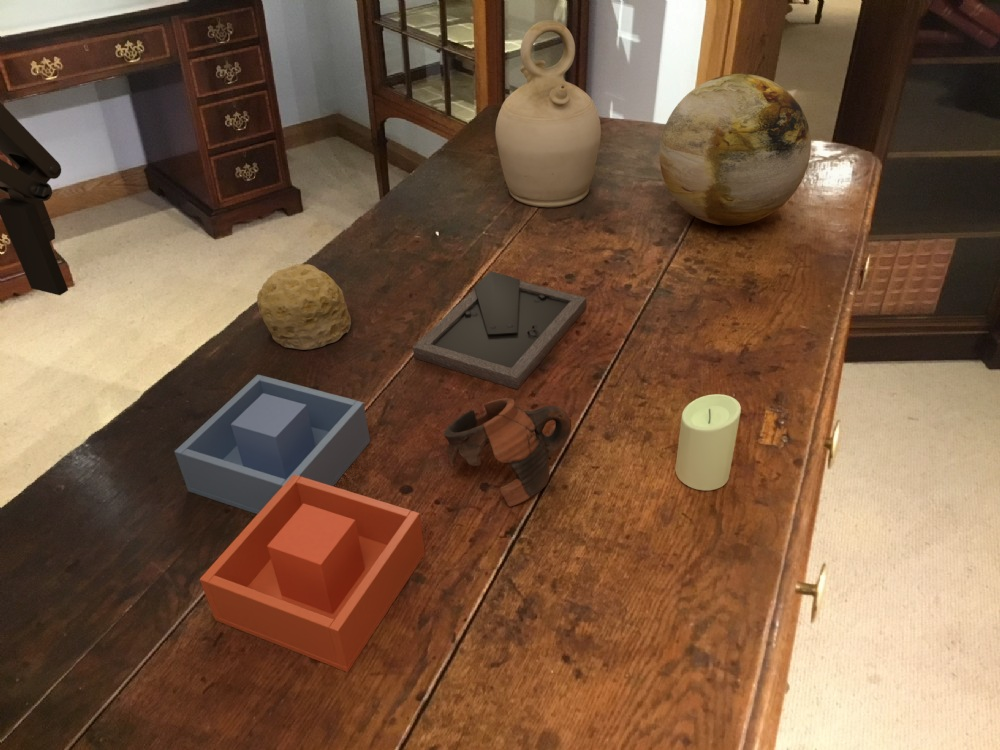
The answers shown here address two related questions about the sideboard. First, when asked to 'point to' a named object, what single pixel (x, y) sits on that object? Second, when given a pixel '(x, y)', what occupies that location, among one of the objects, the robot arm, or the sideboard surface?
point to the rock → (303, 308)
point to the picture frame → (501, 330)
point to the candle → (707, 441)
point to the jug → (548, 130)
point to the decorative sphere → (735, 149)
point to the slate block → (274, 435)
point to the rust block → (317, 557)
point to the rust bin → (294, 625)
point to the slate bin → (225, 479)
